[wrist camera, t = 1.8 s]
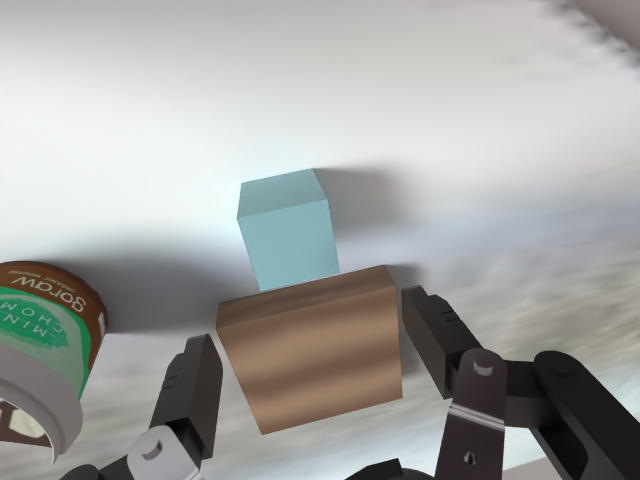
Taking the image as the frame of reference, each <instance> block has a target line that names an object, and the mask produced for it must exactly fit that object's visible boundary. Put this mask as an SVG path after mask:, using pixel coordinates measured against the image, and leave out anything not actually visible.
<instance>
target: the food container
mask: <svg viewBox="0 0 640 480" xmlns="http://www.w3.org/2000/svg"><path fill="white" fill-rule="evenodd" d="M107 326H108V319H107V311H106V307H105V305H104V304H103V302H102V300H101V299H100V297H99V295H98V294H97V292H96V291H95V290H93V289H92V288H91V287H90V286H89V285H88V284H87V283H86V282H84V281H83V280H82V279H81V278H79V277H77V276H75V275H73V274H72V273H70V272H68V271H66V270H63V269H61V268H58V267H55V266H52V265H48V264H44V263H39V262H31V261H12V262H4V263H0V441H7V442H14V443H22V444H30V445H38V446H45V447H51V448H52V452H53V459H52V463H51V466H53V465H54V463H55V461H56V459H57V457H58V456H59V454H60V455H64V454H65V453H66V451H67V450H68V448H69V447H70V446H71V444H72V443H73V442H74V440H75V439H76V438H77V436H78V435H79V434H80V431H81V427H82V424H83V412H82V409H81V405H80V402H79V401H80V398H81V395H82V393H83V390H84V388H85V385H86V382H87V380H88V377H89V375H90V372H91V369H92V367H93V364H94V362H95V359H96V357H97V354H98V351H99V349H100V346H101V344H102V341H103V338H104V336H105V333H106V329H107Z"/></svg>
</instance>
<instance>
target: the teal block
mask: <svg viewBox="0 0 640 480" xmlns="http://www.w3.org/2000/svg"><path fill="white" fill-rule="evenodd" d="M237 221H238V224H239V227H240V230H241V233H242V236H243V239H244V242H245V245H246V249H247V252H248V255H249V258H250V261H251V264H252V267H253V270H254V274H255V277H256V280H257V283H258V286H259V289H260V291H264V290H269V289H273V288H277V287H281V286H286V285H290V284H294V283H298V282H303V281H307V280H311V279H315V278H320V277H324V276H328V275H332V274H337V273H340V271H339V265H338V259H337V253H336V247H335V240H334V234H333V228H332V222H331V216H330V210H329V204H328V198H327V196H326V194H325V192H324V191H323V189H322V187H321V185H320V183H319V181H318V179H317V177H316V175H315V173H314V171H313V169H312V168H311V169H306V170H301V171H297V172H292V173H287V174H282V175H278V176H273V177H268V178H264V179H259V180H254V181H249V182H245V183H242V184H241V191H240V199H239V206H238V214H237Z"/></svg>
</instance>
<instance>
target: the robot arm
mask: <svg viewBox="0 0 640 480" xmlns="http://www.w3.org/2000/svg"><path fill="white" fill-rule="evenodd" d="M401 296H402V315H403V322H404V325H405V328H406V331H407V333H408V335H409V336H410V338H411V340H412V342H413V344H414V346H415V347H416V349H417V351H418V353H419V355H420V357H421V358H422V360H423V362H424V364H425V366H426V368H427V370H428V371H429V373H430V375H431V377H432V379H433V381H434V382H435V384H436V386H437V388H438V390H439V392H440V393H441V395H442V397H443V399H444V400H445V399H449V398H453V399H452V404H451V406H450V407H449V410H448V414H447V419H446V423H445V428H444V433H443V438H442V442H441V447H440V452H439V456H438V461H437V466H436V471H435V475H434V477H432V476H430V475H428V474H426V473H424V472H421V471H417V470H413V469H408V468H401V465H400V462H399V459H398V458H396V459H392V460H388V461H384V462H381V463H377V464H373V465H369V466H366V467H365V468H363V469H361V470H360V471H358V472H356V473H355V474H353V475H351V476H350V477H348V478H347V479H345V480H502V469H503V453H504V438H505V426H509V427H520V428H529V430H530V431H531V433H532V434H533V436H534V437H535V439H536V440H537V442H538V443H539V445H540V446H541V448H542V449H543V451H544V452H545V454H546V455H547V457H548V458H549V460H550V461H551V463H552V464H553V466H554V467H555V469H556V470H557V472H558V474H559V475H560V477H561V478H562V479H563V480H640V423H639V422H638V421H637V420H636V419H635V418H634V417H633V416H632V415H631V414H630V413H629V412H628V411H627V410H626V409H625V408H624V407H623V406H622V405H621V403H620V402H619V401H618V400H617V399H616V398H615V397H614V396H613V395H612V394H611V393H610V392H609V391H608V390H607V389H606V388H605V387H604V386H603V385H602V384H601V383H600V382H599V381H598V380H597V379H596V378H595V377H594V376H593V375H592V374H591V373H590V372H589V371H588V370H587V369H586V368H585V367H584V366H583V365H582V364H581V363H580V362H579V361H578V360H576V359H575V358H573V357H572V356H570V355H568V354H565V353H562V352H558V351H543V352H540V353H538V354H537V355H536V356H535V358H534V362H527V361H509V360H504V359H502V358H501V357H500V356H499V355H498V354H496V353H495V352H493V351H490V350H487V349H484V348H483V347H482V346H481V344H480V343H479V342H478V341H477V339H476V338H475V337H474V335H473V334H472V333H471V332H470V330H469V329H468V328H467V326H466V325H465V324H464V323H463V321H462V320H460V318H459V316H458V315H457V314H456V312H454V310H453V309H452V307H451V306H450V305H449V303H448V302H447V301H446V300H444V299H442V298H441V297H439V296H438V295H436V294H435V295H431V296H428V295H427V293H426V292H425V291H424V289H423V288H422V287H421V286H420V285H418V286H414V287H409V288H405V289H402V291H401ZM222 377H223V367H222V362H221V359H220V357H219V354H218V352H217V350H216V348H215V345H214V343H213V341H212V339H211V337H210V335H209V334H204V335H200V336H195V337H191V338H189V339H188V340H187V343H186V347H185V350H184V353H180V354H177V355H176V356H175V358H174V359H173V360H172V362H171V363H170V364H169V366H168V369H167V372H166V375H165V380H164V381H163V385H162V390H161V391H160V394H159V397H158V401H157V404H156V407H155V410H154V414H153V417H152V420H151V423H150V426H149V429H148V430H147V431H146V432H144V433H143V434H142V435H141V436H139V438H138V439H137V440H136V441H135V442H134V443H133V445H132V447H131V448H130V450H129V453H128V454H127V455H126V456H124V457H122V458H120V459H119V460H117V461H115V462H113V463H111V464H110V465H108V466H106V467H104V468H102V469H100V470H98V469H97V468H96V467H95V466H93V465H90V464H86V465H81V466H79V467H76V468H74V469H73V470H71V471H69V472H68V473H67V474H65V475H64V476H63V477H62V478H61V479H60V480H205V478H204V477H203V475H202V474H201V472H200V466H201V460H204V459H208V458H212V456H213V448H214V440H215V432H216V425H217V417H218V409H219V401H220V393H221V385H222Z"/></svg>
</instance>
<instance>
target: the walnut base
mask: <svg viewBox="0 0 640 480" xmlns="http://www.w3.org/2000/svg"><path fill="white" fill-rule="evenodd" d="M216 331H217V333H218V336H219V338H220V340H221V343H222V345H223V347H224V349H225V352H226V354H227V356H228V359H229V361H230V363H231V365H232V368H233V370H234V372H235V374H236V377H237V379H238V381H239V384H240V386H241V388H242V390H243V393H244V395H245V397H246V400H247V402H248V404H249V406H250V409H251V411H252V413H253V416H254V418H255V420H256V422H257V425H258V427H259V429H260V431H261V434H262V435H265V434H268V433H272V432H276V431H280V430H284V429H287V428H291V427H295V426H299V425H302V424H306V423H310V422H314V421H318V420H321V419H325V418H329V417H333V416H337V415H340V414H344V413H348V412H352V411H356V410H359V409H363V408H367V407H371V406H375V405H378V404H382V403H386V402H390V401H394V400H397V399H401V398H403V395H402V379H401V363H400V346H399V330H398V313H397V297H396V285H395V284H394V282H393V280H392V279H391V277H390V275H389V274H388V272H387V271H386V269H385V267H384V266H383V265H381V266H376V267H372V268H368V269H364V270H359V271H355V272H351V273H347V274H342V275H338V276H334V277H330V278H325V279H321V280H317V281H313V282H308V283H304V284H300V285H296V286H291V287H287V288H283V289H279V290H274V291H270V292H266V293H262V294H257V295H253V296H249V297H245V298H240V299H236V300H232V301H228V302H223V303H220V304H219V310H218V317H217V323H216Z"/></svg>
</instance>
